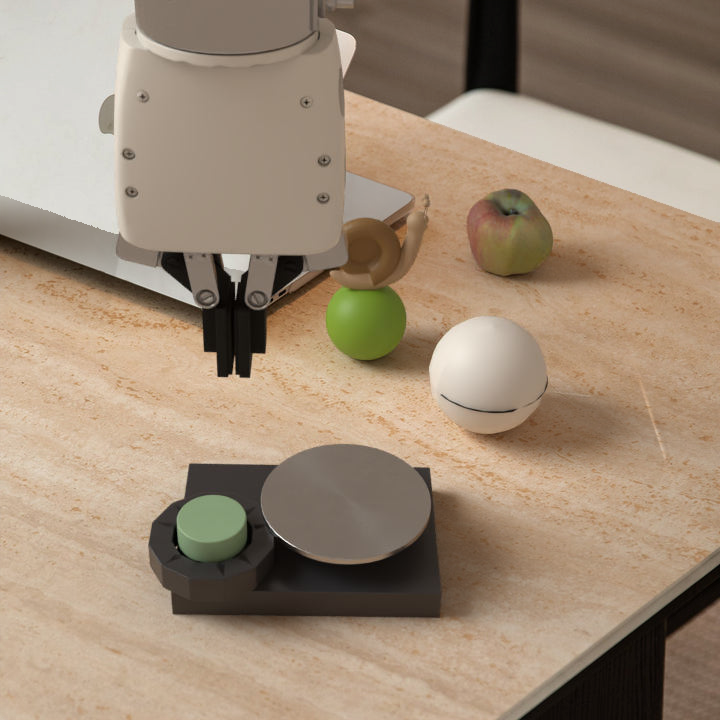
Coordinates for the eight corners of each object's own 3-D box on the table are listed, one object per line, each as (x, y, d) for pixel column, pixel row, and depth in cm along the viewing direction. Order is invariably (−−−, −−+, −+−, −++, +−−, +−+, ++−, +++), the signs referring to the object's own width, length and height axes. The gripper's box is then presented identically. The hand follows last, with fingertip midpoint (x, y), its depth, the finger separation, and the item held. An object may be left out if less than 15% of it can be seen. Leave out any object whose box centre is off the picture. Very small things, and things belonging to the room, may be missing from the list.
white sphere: (403, 432, 78) (410, 337, 74) (456, 373, 83) (465, 280, 79) (550, 490, 74) (567, 392, 70) (596, 424, 79) (614, 329, 75)
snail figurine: (422, 375, 83) (435, 218, 76) (326, 376, 82) (330, 218, 75) (414, 329, 87) (426, 176, 80) (323, 330, 87) (326, 176, 80)
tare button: (174, 563, 64) (173, 541, 63) (181, 515, 67) (180, 493, 66) (245, 564, 64) (244, 542, 63) (248, 516, 67) (248, 494, 66)
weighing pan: (256, 563, 63) (256, 558, 63) (264, 447, 71) (264, 442, 71) (436, 566, 64) (436, 560, 63) (425, 450, 71) (425, 444, 71)
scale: (146, 626, 64) (142, 578, 62) (169, 486, 73) (165, 441, 71) (440, 629, 65) (445, 582, 63) (427, 491, 74) (431, 445, 71)
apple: (478, 230, 99) (485, 164, 95) (564, 266, 95) (575, 198, 91) (433, 259, 95) (439, 191, 91) (521, 298, 91) (530, 228, 87)
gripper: (406, -26, 54) (384, 322, 65) (60, -39, 54) (96, 314, 64) (413, 40, 48) (388, 412, 59) (23, 27, 47) (70, 404, 58)
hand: (236, 360), depth 61 cm, fingers closed
